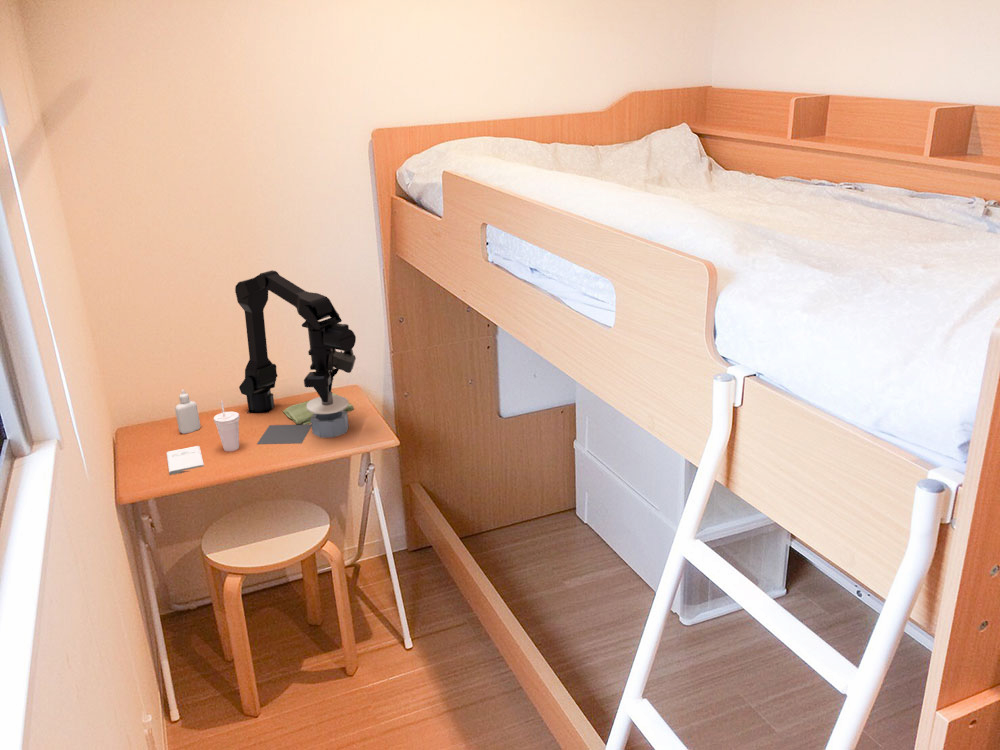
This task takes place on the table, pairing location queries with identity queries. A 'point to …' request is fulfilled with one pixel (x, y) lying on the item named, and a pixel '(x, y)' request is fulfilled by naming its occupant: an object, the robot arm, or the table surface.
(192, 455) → the external hard drive
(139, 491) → the table surface
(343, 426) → the bowl
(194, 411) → the eye dropper bottle
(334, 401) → the lid
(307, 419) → the washcloth
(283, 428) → the mat
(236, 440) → the smoothie
